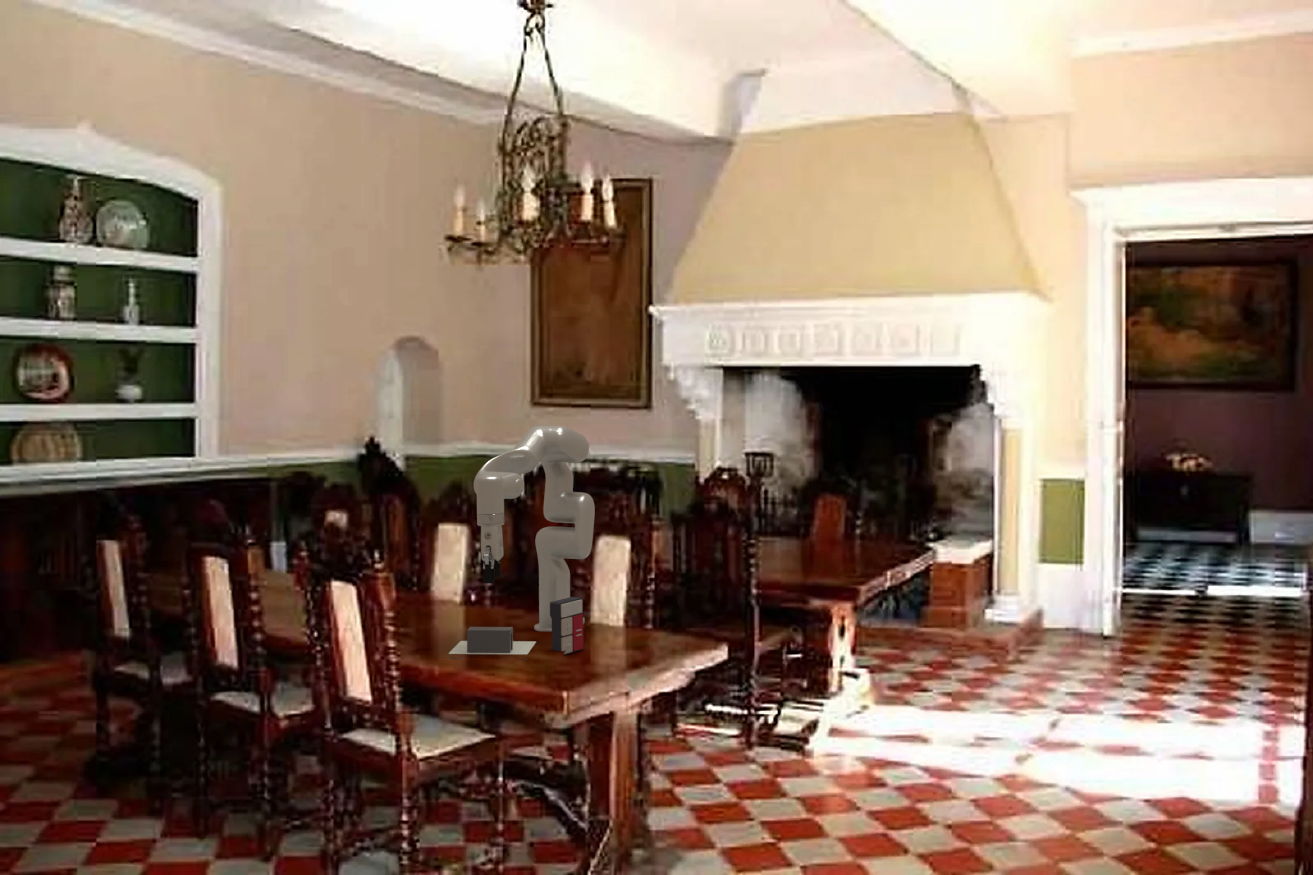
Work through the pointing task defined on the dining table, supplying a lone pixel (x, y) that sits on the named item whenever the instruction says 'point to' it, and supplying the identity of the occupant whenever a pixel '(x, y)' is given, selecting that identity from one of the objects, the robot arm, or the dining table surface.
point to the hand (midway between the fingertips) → (491, 580)
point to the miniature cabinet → (567, 625)
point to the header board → (518, 648)
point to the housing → (490, 639)
